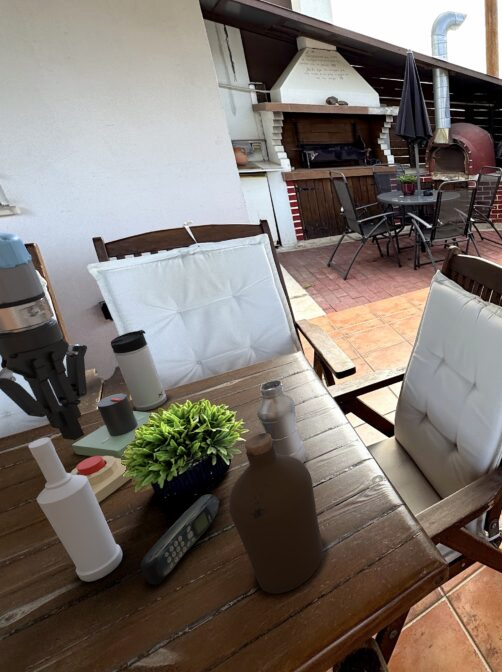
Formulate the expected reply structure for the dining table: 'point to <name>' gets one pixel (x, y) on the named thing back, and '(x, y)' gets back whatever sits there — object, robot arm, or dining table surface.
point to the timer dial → (117, 414)
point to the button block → (106, 477)
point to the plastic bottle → (280, 420)
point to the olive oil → (276, 517)
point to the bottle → (75, 515)
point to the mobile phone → (179, 539)
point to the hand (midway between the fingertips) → (74, 436)
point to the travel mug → (138, 370)
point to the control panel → (108, 440)
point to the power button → (90, 465)
